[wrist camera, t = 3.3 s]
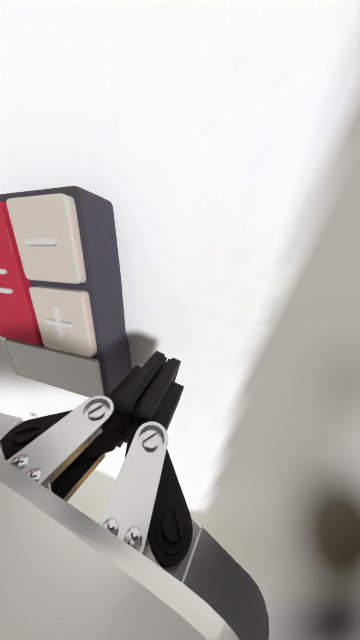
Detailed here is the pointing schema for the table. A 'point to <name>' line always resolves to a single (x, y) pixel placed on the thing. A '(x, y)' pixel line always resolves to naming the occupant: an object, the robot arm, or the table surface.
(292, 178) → the table surface
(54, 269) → the calculator
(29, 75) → the table surface
